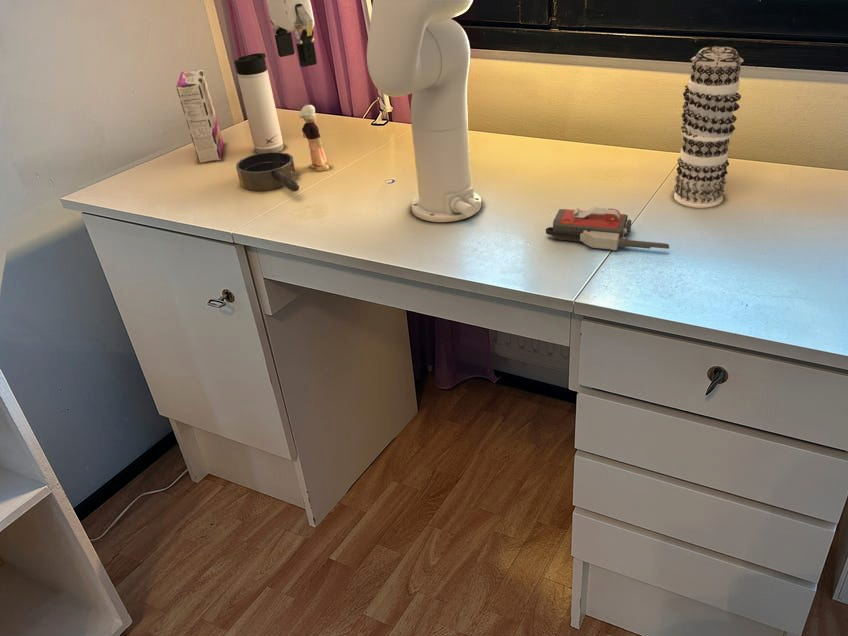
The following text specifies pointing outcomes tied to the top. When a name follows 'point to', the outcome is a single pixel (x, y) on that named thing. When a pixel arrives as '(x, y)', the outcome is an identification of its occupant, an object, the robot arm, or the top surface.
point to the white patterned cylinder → (707, 126)
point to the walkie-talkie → (596, 229)
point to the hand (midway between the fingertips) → (297, 60)
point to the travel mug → (259, 103)
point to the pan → (264, 170)
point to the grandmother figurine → (313, 138)
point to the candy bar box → (200, 115)
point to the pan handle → (286, 180)
